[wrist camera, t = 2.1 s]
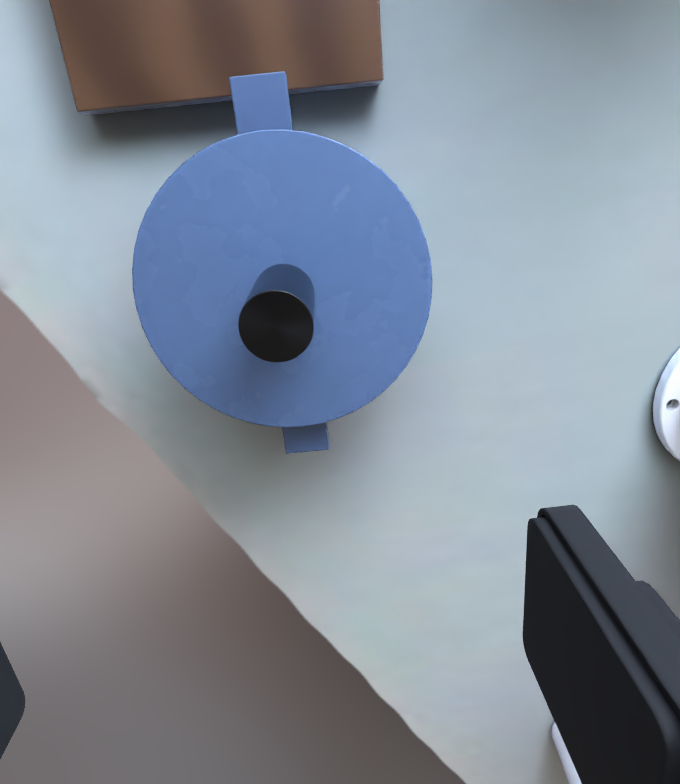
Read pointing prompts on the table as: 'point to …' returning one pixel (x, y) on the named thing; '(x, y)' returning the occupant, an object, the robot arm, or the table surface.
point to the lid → (282, 278)
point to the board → (212, 48)
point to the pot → (272, 112)
